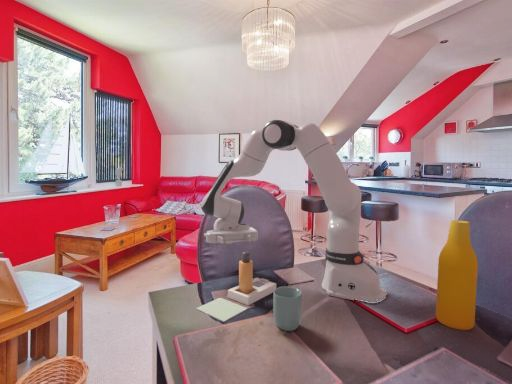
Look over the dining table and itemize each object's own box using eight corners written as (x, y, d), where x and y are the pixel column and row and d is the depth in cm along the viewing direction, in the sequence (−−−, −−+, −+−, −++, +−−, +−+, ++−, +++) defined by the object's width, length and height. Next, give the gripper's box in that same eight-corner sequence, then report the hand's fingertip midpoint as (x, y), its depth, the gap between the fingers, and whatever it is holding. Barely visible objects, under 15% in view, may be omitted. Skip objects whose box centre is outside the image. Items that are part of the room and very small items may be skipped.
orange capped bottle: (255, 296, 98) (255, 252, 97) (246, 301, 95) (246, 255, 94) (245, 293, 101) (245, 250, 100) (236, 297, 97) (236, 252, 96)
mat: (247, 312, 89) (247, 308, 89) (223, 325, 82) (223, 321, 82) (220, 301, 97) (220, 297, 97) (195, 312, 89) (195, 308, 89)
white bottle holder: (256, 286, 109) (256, 275, 109) (276, 293, 103) (276, 281, 103) (227, 300, 98) (227, 288, 97) (248, 308, 92) (248, 295, 92)
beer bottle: (482, 332, 79) (488, 225, 77) (444, 329, 80) (449, 223, 78) (463, 315, 88) (469, 219, 86) (430, 313, 89) (434, 218, 87)
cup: (303, 322, 83) (304, 288, 83) (298, 337, 76) (299, 299, 75) (277, 318, 86) (277, 284, 85) (269, 332, 79) (269, 295, 78)
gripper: (203, 225, 118) (208, 233, 105) (252, 224, 124) (262, 230, 111) (203, 241, 119) (208, 250, 105) (251, 238, 125) (262, 247, 112)
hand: (236, 240), depth 108 cm, fingers open, 8 cm apart
